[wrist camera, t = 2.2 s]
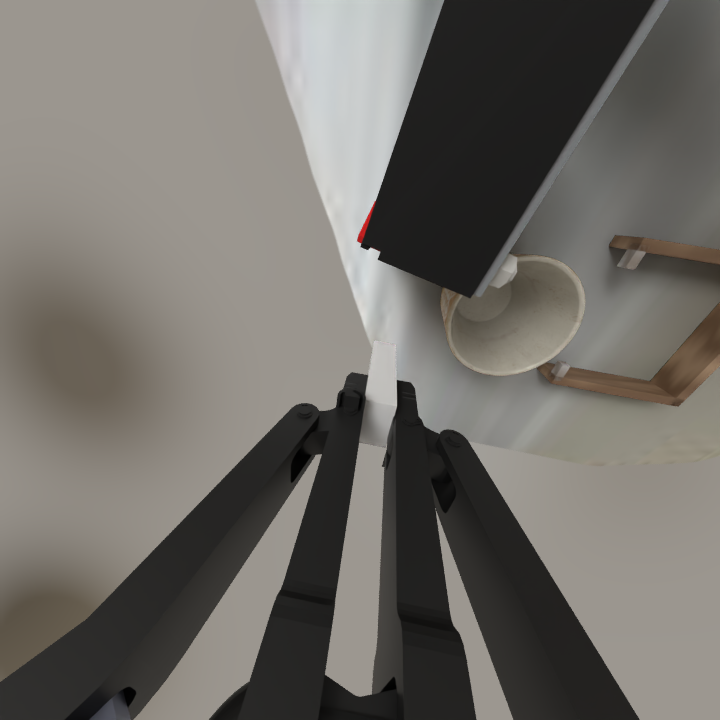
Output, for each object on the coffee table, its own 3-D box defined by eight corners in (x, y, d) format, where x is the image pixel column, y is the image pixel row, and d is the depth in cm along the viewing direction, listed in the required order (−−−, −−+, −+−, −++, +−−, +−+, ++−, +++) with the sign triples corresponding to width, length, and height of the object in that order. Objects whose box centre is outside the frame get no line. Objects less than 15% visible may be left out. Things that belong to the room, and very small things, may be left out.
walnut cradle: (615, 235, 29) (644, 237, 26) (769, 260, 29) (820, 266, 25) (537, 368, 38) (551, 383, 35) (652, 389, 38) (678, 406, 34)
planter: (448, 237, 31) (469, 246, 22) (551, 251, 31) (616, 266, 22) (423, 330, 38) (432, 366, 29) (509, 344, 37) (546, 384, 28)
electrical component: (445, 262, 33) (502, 312, 16) (373, 231, 32) (347, 247, 15) (540, 80, 24) (910, -267, 7) (443, 31, 23) (583, -497, 6)
